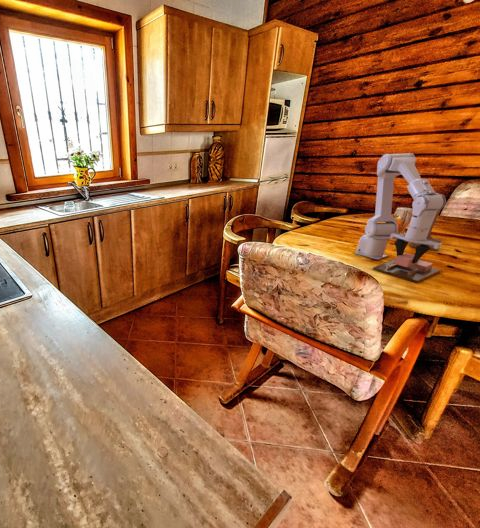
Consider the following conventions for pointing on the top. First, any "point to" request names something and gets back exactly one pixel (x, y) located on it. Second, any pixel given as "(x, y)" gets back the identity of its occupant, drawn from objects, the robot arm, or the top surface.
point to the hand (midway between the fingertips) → (406, 260)
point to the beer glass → (402, 218)
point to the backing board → (408, 270)
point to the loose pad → (404, 260)
